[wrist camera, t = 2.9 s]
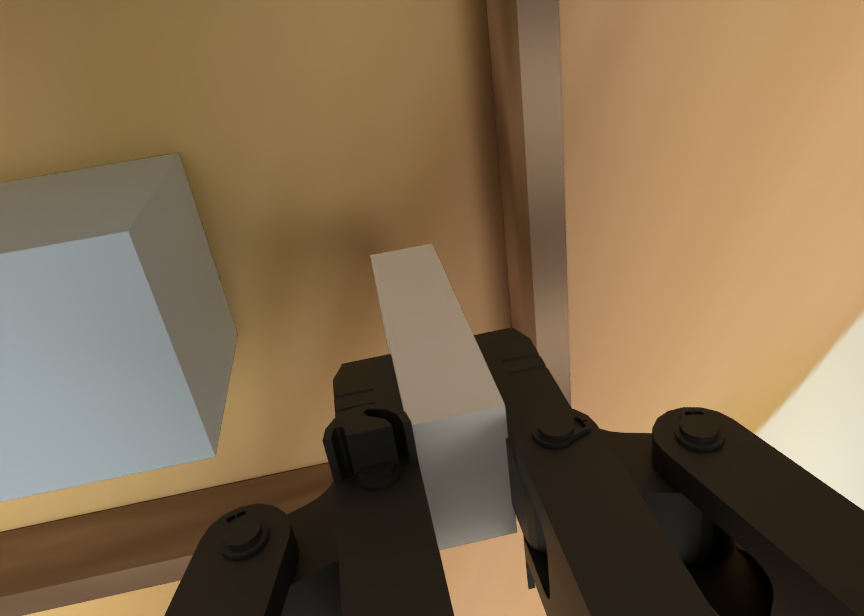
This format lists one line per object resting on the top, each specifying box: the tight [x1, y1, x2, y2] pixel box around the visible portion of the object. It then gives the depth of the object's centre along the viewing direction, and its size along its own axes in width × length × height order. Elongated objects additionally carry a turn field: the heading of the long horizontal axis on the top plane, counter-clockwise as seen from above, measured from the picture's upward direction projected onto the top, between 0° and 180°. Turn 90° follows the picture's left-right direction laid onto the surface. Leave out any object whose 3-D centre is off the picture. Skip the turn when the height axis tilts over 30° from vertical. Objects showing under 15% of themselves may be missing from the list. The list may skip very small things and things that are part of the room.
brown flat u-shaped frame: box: [0, 0, 571, 616], centre depth 18 cm, size 20×21×3 cm
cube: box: [0, 152, 238, 502], centre depth 17 cm, size 6×6×6 cm
